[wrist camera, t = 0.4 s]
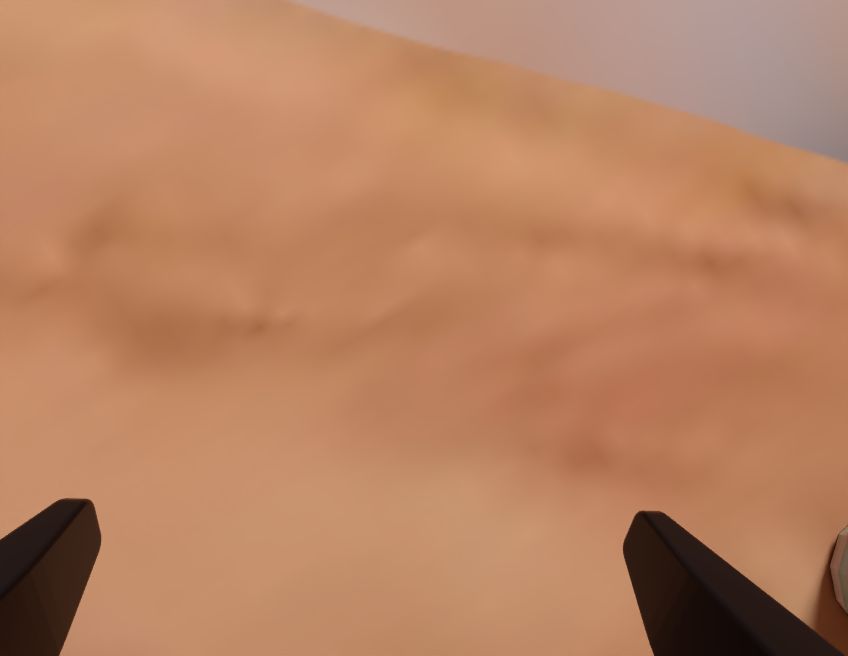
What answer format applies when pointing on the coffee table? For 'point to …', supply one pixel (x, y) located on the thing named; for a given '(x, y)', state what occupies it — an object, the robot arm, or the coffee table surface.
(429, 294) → the coffee table surface
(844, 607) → the disposable coffee cup
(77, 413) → the coffee table surface
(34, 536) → the robot arm
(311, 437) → the coffee table surface
